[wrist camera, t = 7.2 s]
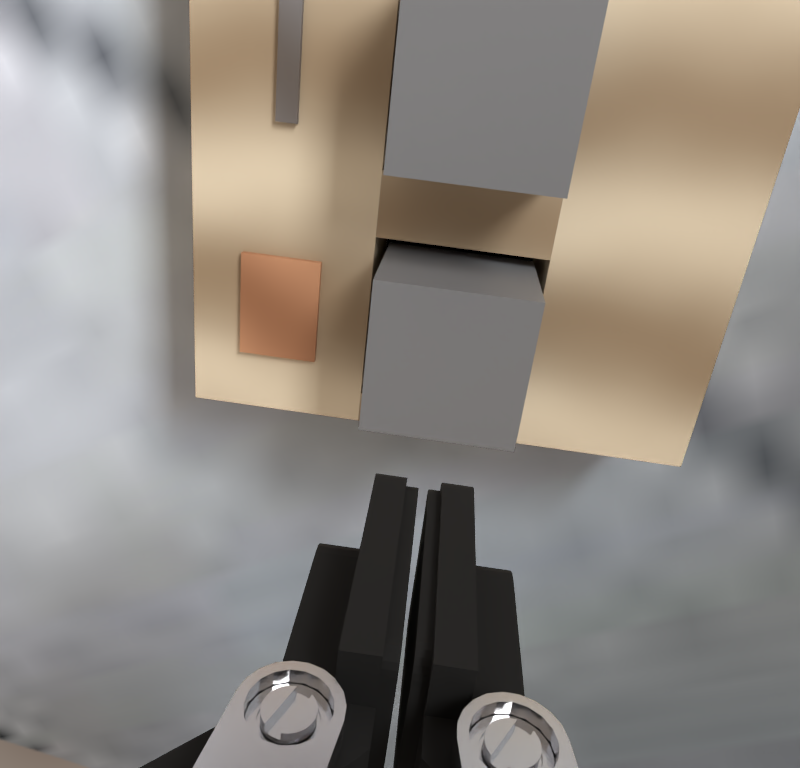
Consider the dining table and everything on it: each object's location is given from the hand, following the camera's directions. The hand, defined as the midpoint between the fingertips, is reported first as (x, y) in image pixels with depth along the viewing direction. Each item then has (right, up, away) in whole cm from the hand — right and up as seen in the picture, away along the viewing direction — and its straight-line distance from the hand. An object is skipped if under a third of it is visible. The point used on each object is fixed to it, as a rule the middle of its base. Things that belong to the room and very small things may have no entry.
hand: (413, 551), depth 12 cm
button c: (+1, +5, +10) cm, 12 cm away
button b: (+2, +11, +7) cm, 14 cm away
